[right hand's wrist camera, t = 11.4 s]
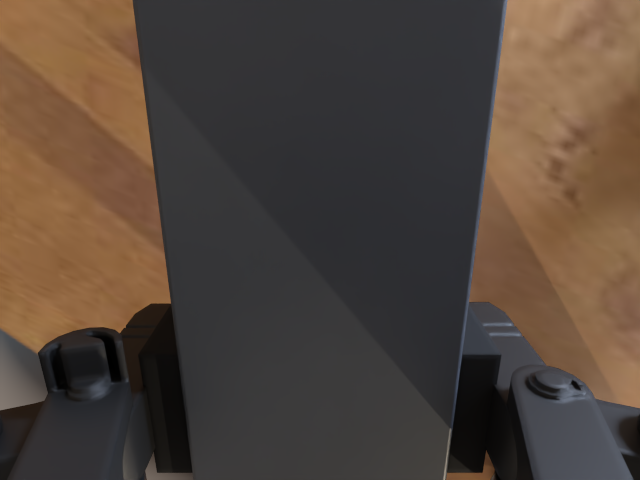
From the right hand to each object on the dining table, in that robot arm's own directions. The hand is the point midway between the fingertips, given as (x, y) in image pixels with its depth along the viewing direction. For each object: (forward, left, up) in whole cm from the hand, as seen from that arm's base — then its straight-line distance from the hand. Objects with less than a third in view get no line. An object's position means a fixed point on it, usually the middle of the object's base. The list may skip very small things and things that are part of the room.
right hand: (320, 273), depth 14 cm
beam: (-12, -21, -1) cm, 25 cm away
